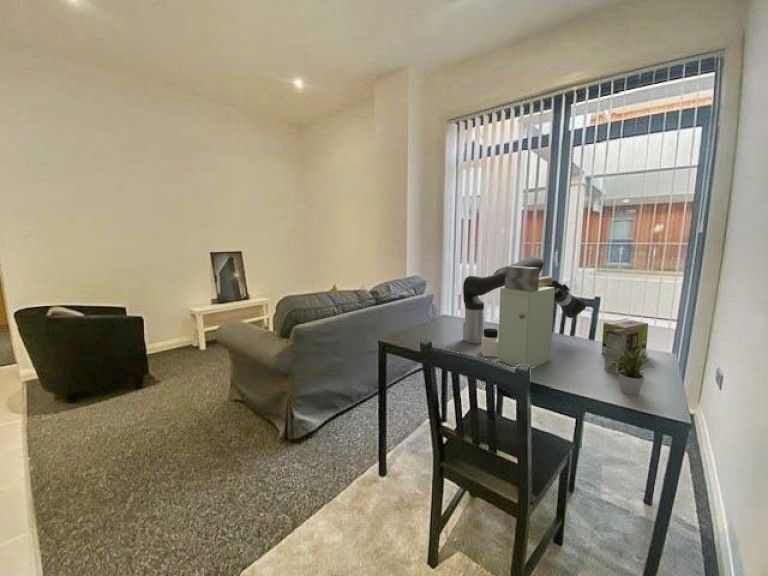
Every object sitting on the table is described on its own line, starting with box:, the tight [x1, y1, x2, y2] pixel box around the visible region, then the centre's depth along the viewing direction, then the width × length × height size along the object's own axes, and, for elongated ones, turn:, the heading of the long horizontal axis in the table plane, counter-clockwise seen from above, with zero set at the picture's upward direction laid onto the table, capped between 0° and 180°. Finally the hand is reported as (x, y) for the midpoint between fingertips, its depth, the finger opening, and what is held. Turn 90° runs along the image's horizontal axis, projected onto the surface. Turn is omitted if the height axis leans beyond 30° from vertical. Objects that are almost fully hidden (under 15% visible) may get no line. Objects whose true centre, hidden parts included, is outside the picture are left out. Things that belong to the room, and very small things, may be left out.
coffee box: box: [603, 328, 639, 375], centre depth 136 cm, size 9×6×16 cm
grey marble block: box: [504, 265, 554, 292], centre depth 146 cm, size 12×24×9 cm, turn 126°
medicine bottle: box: [480, 327, 499, 358], centre depth 157 cm, size 7×7×12 cm
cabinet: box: [497, 286, 555, 369], centre depth 147 cm, size 14×19×32 cm
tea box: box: [601, 318, 649, 358], centre depth 153 cm, size 15×10×15 cm
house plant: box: [609, 344, 656, 396], centre depth 120 cm, size 14×14×16 cm
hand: (544, 281), depth 151 cm, fingers open, 8 cm apart
